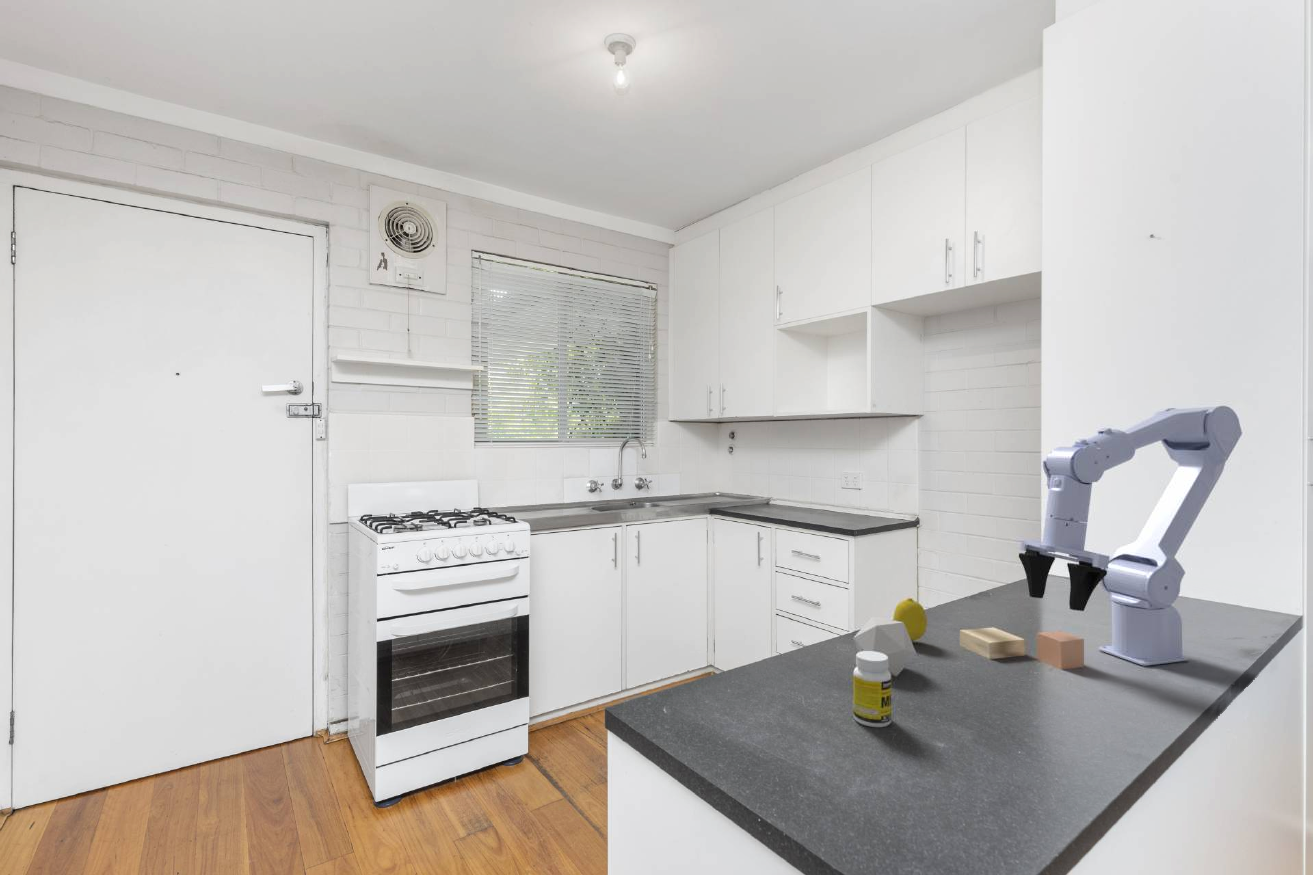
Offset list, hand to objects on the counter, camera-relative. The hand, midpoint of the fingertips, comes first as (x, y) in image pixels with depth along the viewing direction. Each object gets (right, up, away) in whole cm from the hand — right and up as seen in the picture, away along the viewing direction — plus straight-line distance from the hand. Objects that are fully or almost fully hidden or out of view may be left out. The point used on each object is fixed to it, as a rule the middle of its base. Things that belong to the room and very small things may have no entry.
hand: (1055, 603), depth 101 cm
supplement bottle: (-36, -10, -19) cm, 43 cm away
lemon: (-19, -10, +11) cm, 24 cm away
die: (-28, -10, -2) cm, 30 cm away
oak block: (-7, -10, +7) cm, 14 cm away
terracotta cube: (+1, -10, 0) cm, 10 cm away
